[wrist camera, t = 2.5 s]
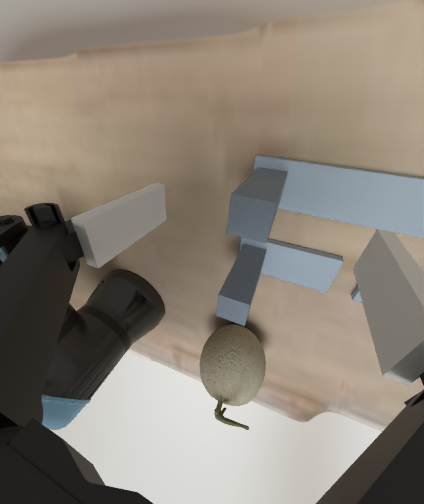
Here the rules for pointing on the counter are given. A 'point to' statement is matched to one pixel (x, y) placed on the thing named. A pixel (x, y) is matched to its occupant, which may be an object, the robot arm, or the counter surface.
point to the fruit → (232, 368)
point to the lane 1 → (325, 197)
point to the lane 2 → (272, 273)
